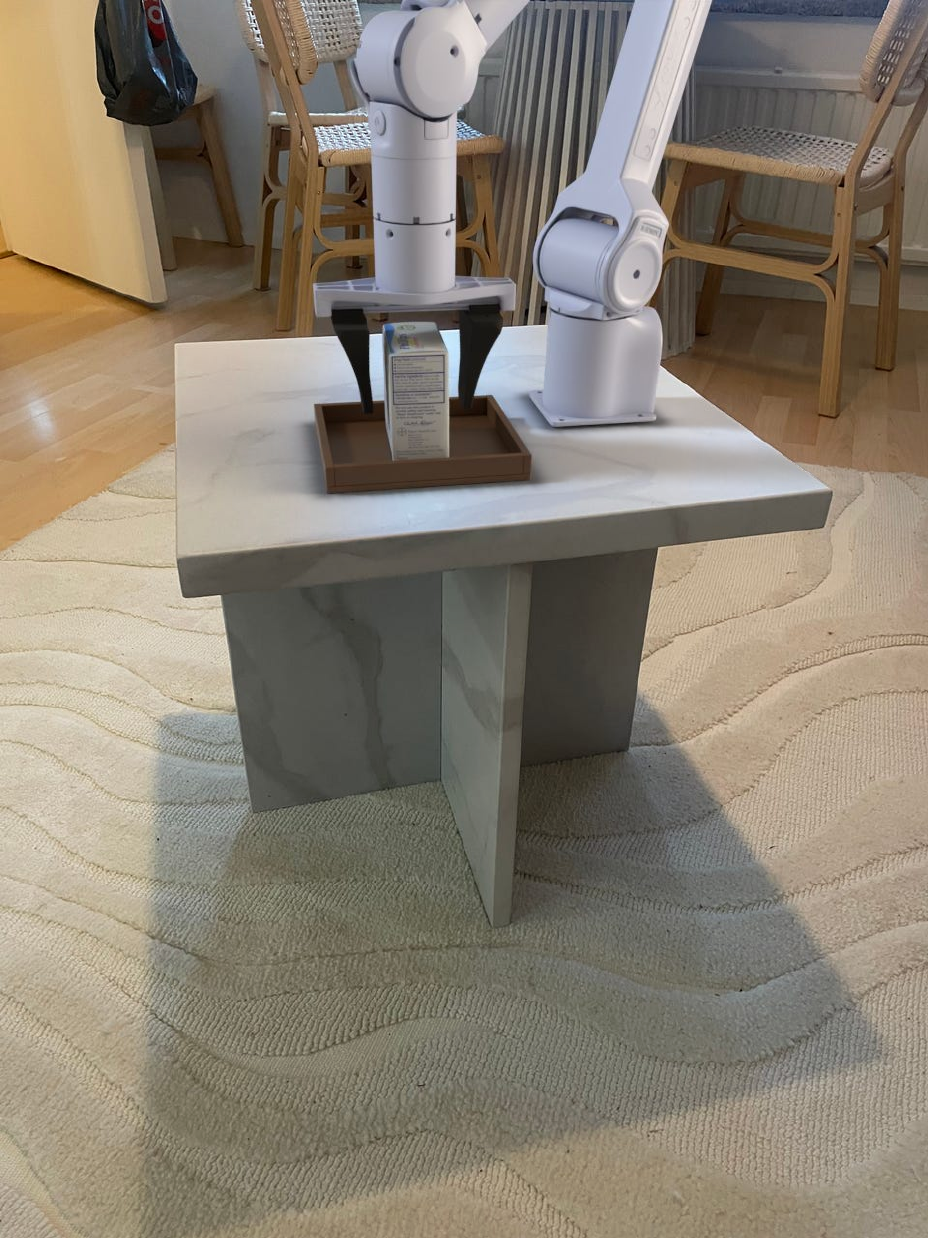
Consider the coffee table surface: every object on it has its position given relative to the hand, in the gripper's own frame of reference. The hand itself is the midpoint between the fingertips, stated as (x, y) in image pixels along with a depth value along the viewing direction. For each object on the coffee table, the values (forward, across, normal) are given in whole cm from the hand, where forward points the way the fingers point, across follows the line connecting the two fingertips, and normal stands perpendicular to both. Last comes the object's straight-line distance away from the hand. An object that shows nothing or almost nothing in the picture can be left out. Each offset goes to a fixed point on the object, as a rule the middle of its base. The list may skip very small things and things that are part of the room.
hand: (416, 406), depth 71 cm
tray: (+4, 0, 0) cm, 4 cm away
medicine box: (+3, 0, 0) cm, 3 cm away
